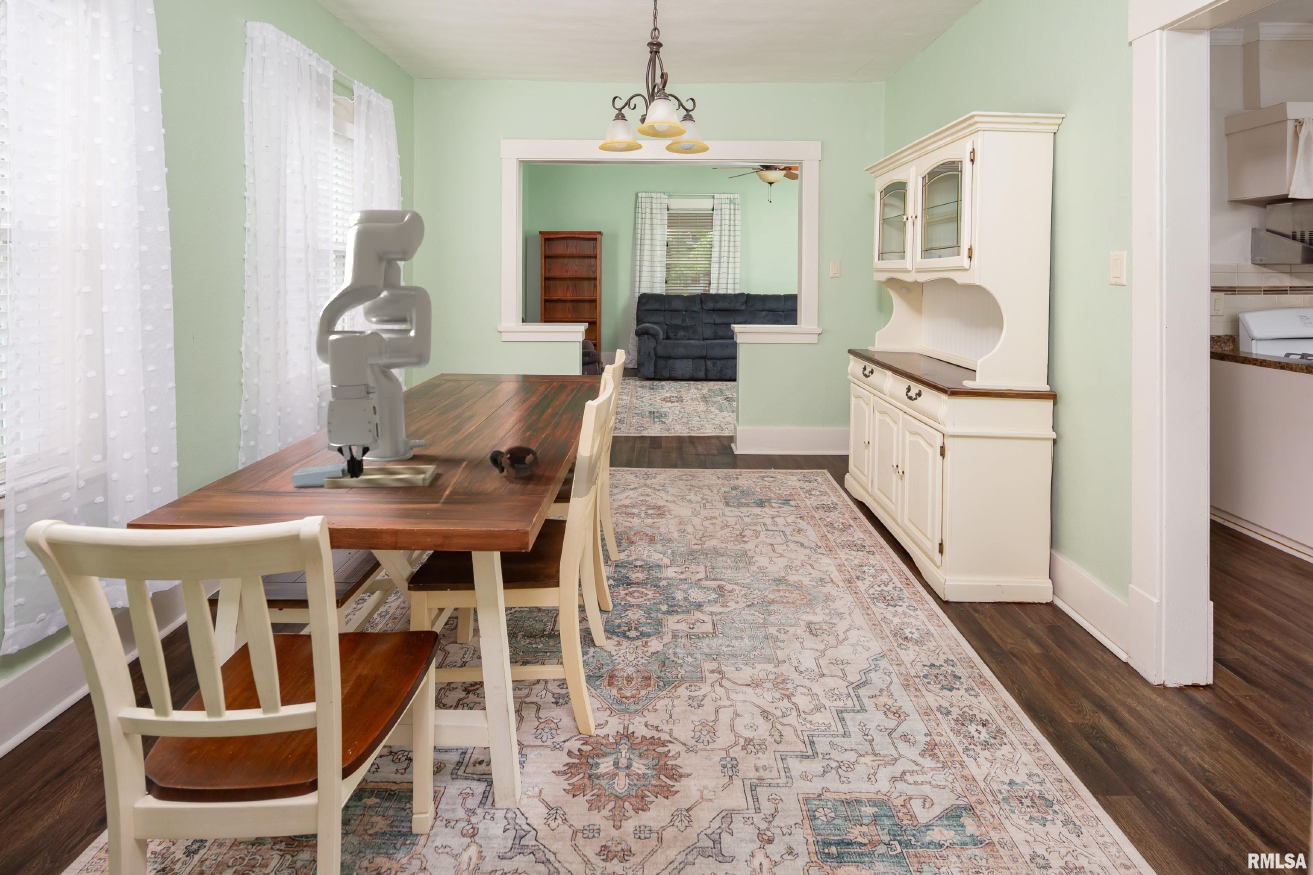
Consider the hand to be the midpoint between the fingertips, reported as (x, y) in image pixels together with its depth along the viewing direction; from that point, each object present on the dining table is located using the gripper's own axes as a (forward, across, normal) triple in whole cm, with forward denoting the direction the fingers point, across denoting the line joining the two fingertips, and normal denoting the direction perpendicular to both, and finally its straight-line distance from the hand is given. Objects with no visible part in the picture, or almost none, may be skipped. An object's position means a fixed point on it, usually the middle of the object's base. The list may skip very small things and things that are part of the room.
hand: (355, 476), depth 176 cm
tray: (+1, -6, 0) cm, 6 cm away
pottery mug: (+2, -34, -2) cm, 34 cm away
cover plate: (+1, +7, +1) cm, 7 cm away
